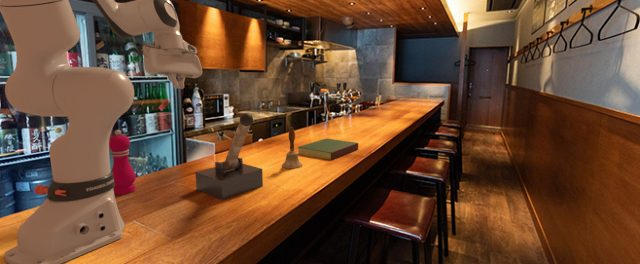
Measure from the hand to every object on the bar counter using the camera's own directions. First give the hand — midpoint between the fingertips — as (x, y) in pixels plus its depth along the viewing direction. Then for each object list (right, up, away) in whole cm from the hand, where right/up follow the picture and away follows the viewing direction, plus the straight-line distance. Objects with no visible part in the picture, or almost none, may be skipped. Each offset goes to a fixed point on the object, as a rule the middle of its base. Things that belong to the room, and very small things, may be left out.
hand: (179, 88), depth 112 cm
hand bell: (+35, -28, +27) cm, 52 cm away
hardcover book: (+51, -24, +52) cm, 76 cm away
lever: (+16, -26, 0) cm, 31 cm away
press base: (+16, -33, +1) cm, 37 cm away
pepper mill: (-16, -34, -3) cm, 38 cm away
